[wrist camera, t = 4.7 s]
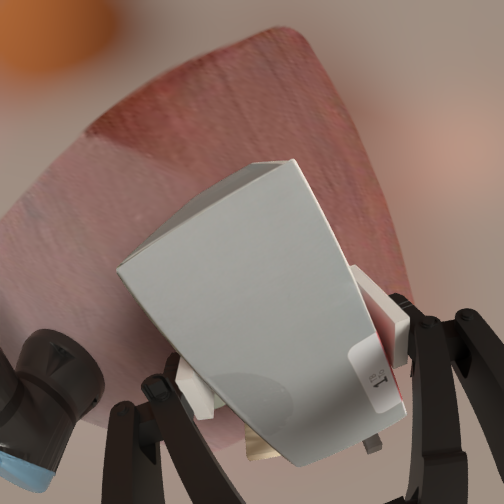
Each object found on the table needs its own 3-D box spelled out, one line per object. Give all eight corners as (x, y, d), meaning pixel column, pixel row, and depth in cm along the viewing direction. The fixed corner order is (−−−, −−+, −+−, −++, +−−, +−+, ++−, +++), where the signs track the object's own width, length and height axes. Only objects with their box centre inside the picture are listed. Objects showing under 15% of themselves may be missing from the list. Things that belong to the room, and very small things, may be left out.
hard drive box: (323, 284, 32) (409, 418, 13) (264, 317, 33) (294, 473, 14) (254, 158, 28) (297, 156, 9) (186, 198, 28) (103, 277, 9)
